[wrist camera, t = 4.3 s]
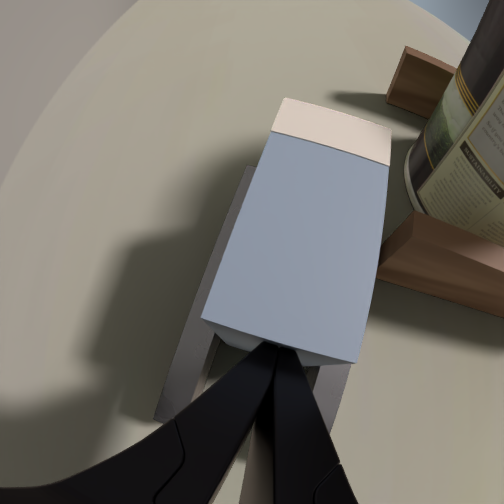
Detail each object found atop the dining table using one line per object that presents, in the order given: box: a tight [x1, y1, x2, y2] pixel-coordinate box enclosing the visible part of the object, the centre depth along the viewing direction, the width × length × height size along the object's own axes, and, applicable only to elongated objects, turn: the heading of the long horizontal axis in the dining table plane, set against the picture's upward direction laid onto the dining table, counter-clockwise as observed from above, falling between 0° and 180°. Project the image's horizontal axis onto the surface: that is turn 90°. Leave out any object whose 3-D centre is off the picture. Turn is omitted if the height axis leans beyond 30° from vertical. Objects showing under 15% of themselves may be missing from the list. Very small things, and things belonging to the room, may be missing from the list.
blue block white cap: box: [201, 97, 391, 366], centre depth 11 cm, size 7×4×8 cm, turn 162°
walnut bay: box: [375, 46, 504, 318], centre depth 15 cm, size 15×14×5 cm
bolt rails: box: [153, 165, 351, 434], centre depth 13 cm, size 12×7×2 cm, turn 162°
